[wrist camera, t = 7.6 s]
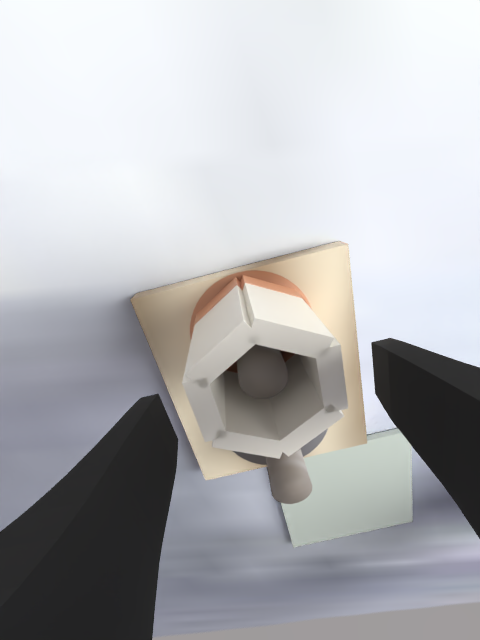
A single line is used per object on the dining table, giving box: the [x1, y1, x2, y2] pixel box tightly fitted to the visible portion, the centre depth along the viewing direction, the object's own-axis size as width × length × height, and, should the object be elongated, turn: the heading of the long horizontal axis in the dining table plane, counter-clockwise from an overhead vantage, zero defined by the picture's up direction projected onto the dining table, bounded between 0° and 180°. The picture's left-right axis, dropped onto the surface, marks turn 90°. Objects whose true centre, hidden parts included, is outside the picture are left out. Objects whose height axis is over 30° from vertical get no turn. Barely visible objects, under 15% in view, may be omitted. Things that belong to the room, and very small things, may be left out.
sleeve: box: [182, 275, 348, 459], centre depth 12 cm, size 5×6×5 cm
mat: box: [281, 428, 413, 548], centre depth 20 cm, size 9×9×1 cm
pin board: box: [131, 241, 367, 504], centre depth 14 cm, size 10×12×5 cm
